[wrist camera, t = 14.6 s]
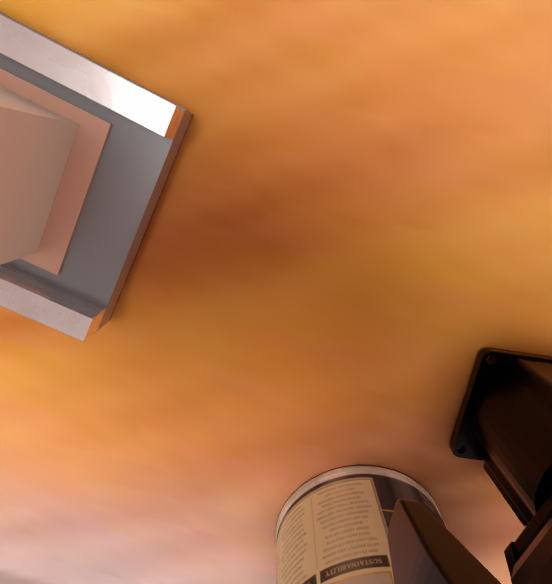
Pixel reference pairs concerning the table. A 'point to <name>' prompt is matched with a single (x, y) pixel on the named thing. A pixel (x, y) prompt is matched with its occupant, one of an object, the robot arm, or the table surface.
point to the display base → (87, 181)
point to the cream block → (29, 170)
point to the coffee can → (343, 526)
